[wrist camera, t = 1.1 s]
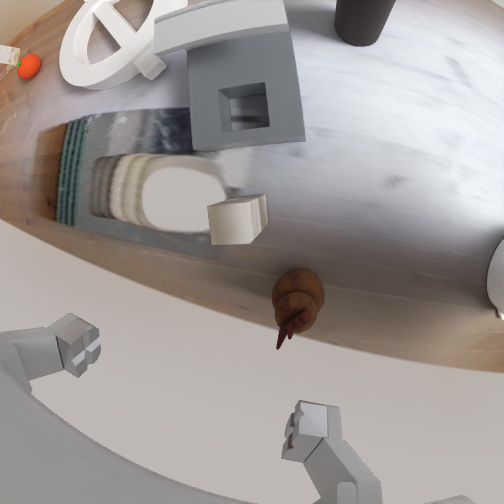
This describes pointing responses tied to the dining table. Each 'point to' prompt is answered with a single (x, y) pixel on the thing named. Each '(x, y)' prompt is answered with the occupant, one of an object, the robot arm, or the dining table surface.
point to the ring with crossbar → (132, 43)
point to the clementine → (28, 66)
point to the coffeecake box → (7, 59)
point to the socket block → (235, 68)
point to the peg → (238, 219)
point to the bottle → (361, 20)
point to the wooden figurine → (296, 302)
